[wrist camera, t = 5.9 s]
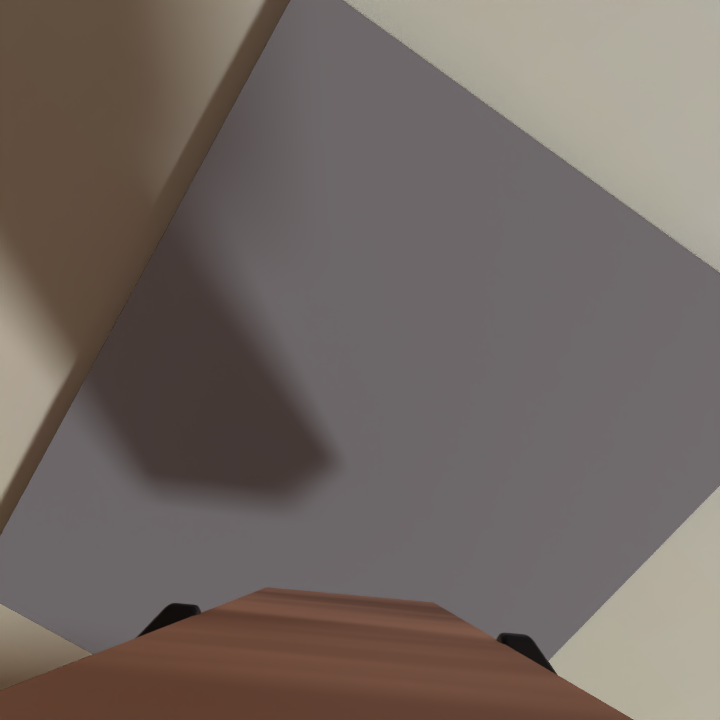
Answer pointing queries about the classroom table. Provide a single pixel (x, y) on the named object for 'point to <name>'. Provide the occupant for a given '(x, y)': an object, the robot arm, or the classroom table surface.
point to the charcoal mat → (378, 370)
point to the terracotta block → (307, 669)
